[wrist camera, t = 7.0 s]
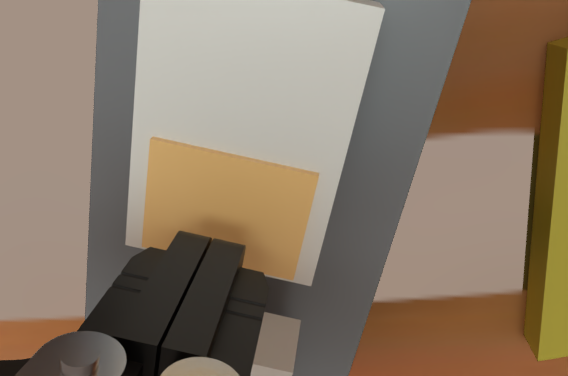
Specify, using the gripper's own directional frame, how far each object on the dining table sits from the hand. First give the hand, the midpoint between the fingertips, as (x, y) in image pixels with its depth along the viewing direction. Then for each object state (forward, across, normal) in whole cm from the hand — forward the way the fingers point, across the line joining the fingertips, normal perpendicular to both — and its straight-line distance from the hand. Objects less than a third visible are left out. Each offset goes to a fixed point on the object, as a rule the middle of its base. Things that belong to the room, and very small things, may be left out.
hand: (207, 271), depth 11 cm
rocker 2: (+2, 0, -3) cm, 3 cm away
